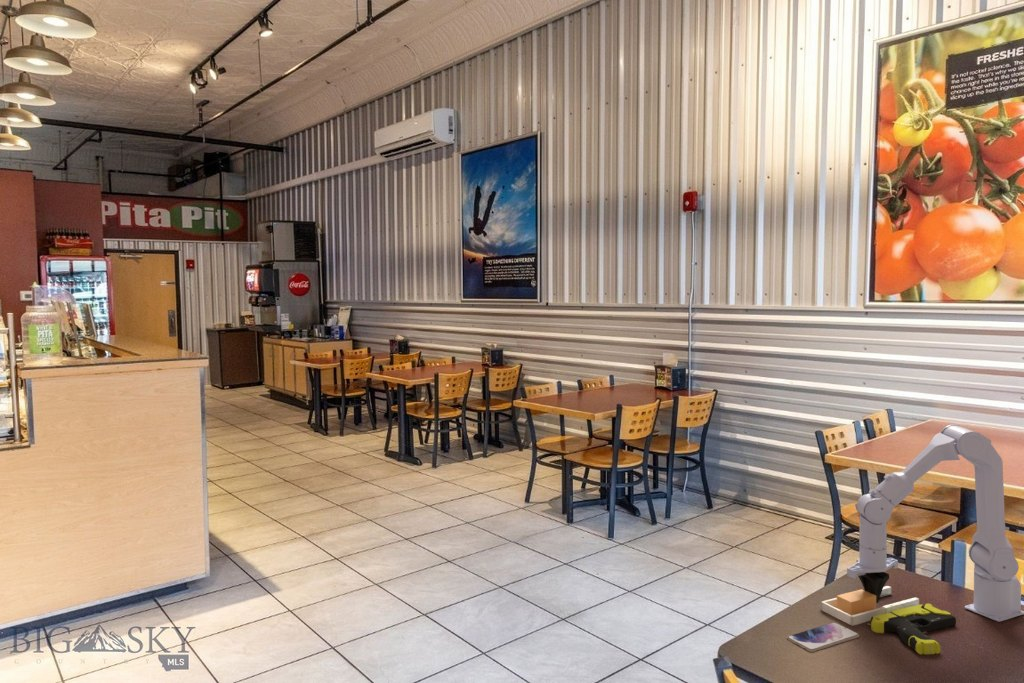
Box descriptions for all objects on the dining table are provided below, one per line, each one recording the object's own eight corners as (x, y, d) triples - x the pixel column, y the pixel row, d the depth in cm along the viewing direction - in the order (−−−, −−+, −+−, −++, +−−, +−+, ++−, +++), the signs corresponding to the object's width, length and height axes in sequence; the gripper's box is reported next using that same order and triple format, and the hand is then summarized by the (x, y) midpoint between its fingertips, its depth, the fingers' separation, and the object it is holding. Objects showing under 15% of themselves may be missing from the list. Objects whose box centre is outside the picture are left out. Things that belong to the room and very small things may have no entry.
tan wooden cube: (849, 608, 162) (849, 592, 162) (863, 615, 158) (863, 598, 158) (836, 612, 161) (836, 595, 160) (851, 619, 157) (851, 602, 157)
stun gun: (989, 630, 145) (927, 601, 159) (921, 646, 139) (862, 614, 153) (989, 643, 145) (927, 613, 160) (921, 660, 139) (862, 627, 154)
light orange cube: (861, 605, 164) (861, 589, 163) (876, 612, 160) (876, 595, 160) (849, 608, 162) (849, 592, 162) (863, 615, 158) (863, 598, 158)
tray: (853, 601, 166) (853, 593, 166) (885, 616, 158) (885, 607, 158) (820, 609, 162) (820, 601, 162) (852, 625, 154) (852, 617, 154)
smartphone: (785, 636, 149) (833, 621, 155) (785, 640, 149) (834, 625, 155) (811, 650, 143) (861, 634, 149) (811, 654, 143) (861, 638, 149)
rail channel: (887, 592, 170) (887, 585, 170) (919, 606, 162) (919, 598, 162) (855, 601, 166) (855, 594, 166) (886, 615, 158) (886, 608, 158)
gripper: (879, 535, 168) (879, 589, 169) (836, 545, 162) (836, 600, 163) (906, 545, 161) (905, 600, 162) (861, 555, 156) (861, 613, 157)
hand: (872, 601), depth 162 cm, fingers closed
